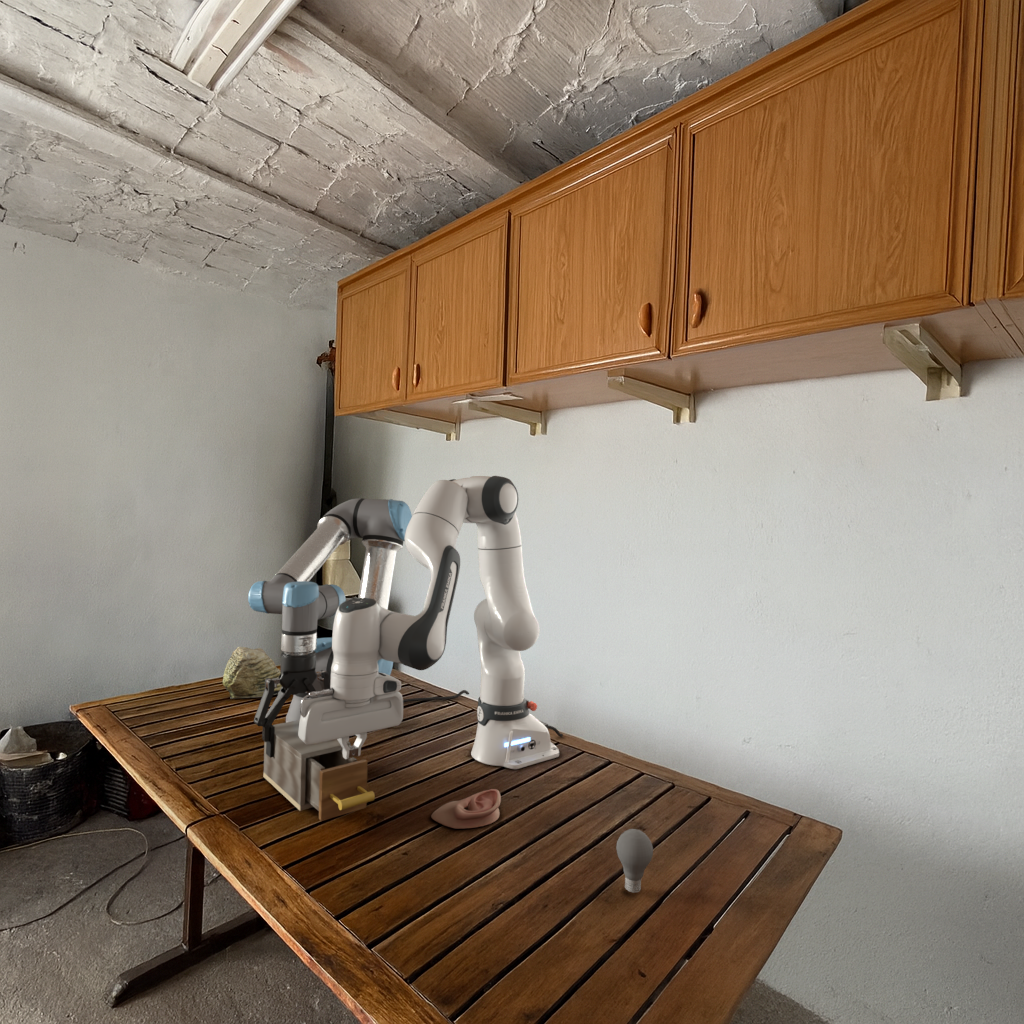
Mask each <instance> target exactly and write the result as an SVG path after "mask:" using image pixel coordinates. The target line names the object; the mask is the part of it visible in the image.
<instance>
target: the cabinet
mask: <svg viewBox="0 0 1024 1024" xmlns="http://www.w3.org/2000/svg"><path fill="white" fill-rule="evenodd" d="M299 723H300V720H296V721H291V722H286V721H285V722H282V723H276V724H272V725H273V726H274V727H275V734H274V757H271V758H270V757H269V756H268V755H267V754H266V742H265V741H263V742H264V743H263V749H264V750H263V772H262V773H263V775H262V776H263V778H264V779H265V780H266V781H267V782H268V783H269V784H270V785H272V787H273V788H275V789H276V791H278V792H279V793H280V794H281V795H283V797H284V798H286V800H288V801H289V802H290V803H291V805H293V806H294V807H295V808H296V809H297V810H298V811H299V812H302V811H305V810H308V809H311V808H314V807H313V806H312V805H311V804H310V803H309V802H308V801H307V800H305V786H306V758H310V757H314V756H318V755H322V754H327V753H331V752H335V751H339V750H343V748H342V747H341V745H340V743H339V742H338V740H337V739H335V740H330V741H326V742H321V743H317V744H312V745H307V744H305V743H304V742H303V741H302V740H301V739H300V738H299V736H298V731H299ZM346 743H347V745H348V746H352V743H351V742H350V741H349V742H346Z"/></svg>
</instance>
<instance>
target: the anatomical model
mask: <svg viewBox="0 0 1024 1024" xmlns="http://www.w3.org/2000/svg"><path fill="white" fill-rule="evenodd" d="M501 802H502V796H501V792H500V791H499V790H498V789H496V788H491V789H486V790H483V791H480V792H477V793H474V794H472V795H469V796H468V797H465V798H463V799H460V800H452V801H449V802H447V803H445V804H443V805H441V806H439V807H438V808H437V809H435V810H434V811H433V812H432V814H431V815H430V817H431V819H432V820H433V821H435V822H436V823H439V824H440V825H442V826H445V827H448V828H450V829H458V830H459V829H464V830H465V829H474V828H479V827H480V828H481V827H484V826H488V825H491V824H492V823H495V822H496V821H497V820H498V819H499V818H500V814H501V813H500V809H499V807H500V805H501Z"/></svg>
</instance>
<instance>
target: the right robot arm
mask: <svg viewBox="0 0 1024 1024" xmlns="http://www.w3.org/2000/svg"><path fill="white" fill-rule="evenodd" d="M518 505H519V492H518V490H517V487H516V485H515V484H514V483H513V481H512V480H511V479H510V478H508V477H505V476H502V475H501V476H500V475H491V476H488V475H487V476H486V475H473V476H469V477H463V478H458V479H455V478H453V479H440V480H436V481H434V482H432V484H430V486H429V487H428V489H426V491H425V493H424V494H423V495H422V497H421V499H420V500H419V502H418V504H417V505H416V507H415V509H414V511H413V513H412V517H411V520H410V522H409V524H408V526H407V529H406V532H405V538H404V539H405V541H404V544H405V547H406V549H407V551H408V553H409V554H410V555H411V557H412V558H413V559H414V560H415V561H416V562H418V563H419V564H420V565H422V566H423V567H425V568H426V569H428V570H429V572H430V581H429V585H428V589H427V593H426V597H425V599H424V603H423V608H422V610H421V611H420V613H418V614H416V615H412V614H407V613H401V612H398V611H392V610H390V609H388V610H387V609H385V608H383V607H381V606H379V605H378V604H377V601H375V600H374V599H370V598H358V597H357V598H351V599H350V598H349V599H346V601H345V602H343V603H342V604H340V605H339V607H338V609H337V611H336V614H335V615H334V619H333V625H332V636H331V637H332V650H333V654H334V659H333V664H332V667H331V684H330V689H325V690H321V691H317V692H316V691H313V692H310V693H308V695H306V696H305V697H304V698H303V699H302V700H301V703H300V713H301V717H300V723H299V731H298V736H299V738H300V739H301V740H302V741H303V742H304V743H305V744H307V745H312V744H317V743H321V742H326V741H330V740H335V739H337V740H338V742H339V743H340V745H341V747H342V748H343V754H342V755H343V758H345V759H349V758H353V757H354V758H356V757H360V756H361V753H362V747H363V745H364V743H365V742H366V740H367V738H368V733H371V732H375V731H380V730H384V729H389V728H392V727H398V726H400V725H401V723H402V722H403V719H404V703H403V700H404V698H403V695H402V693H401V692H400V691H401V689H402V681H401V680H399V679H398V678H397V677H395V676H392V675H391V674H390V675H388V674H385V673H380V672H378V669H379V667H378V660H380V659H384V660H387V661H391V662H393V663H395V664H396V663H397V664H401V665H403V666H406V667H408V668H411V669H414V670H417V671H425V670H429V668H431V667H432V666H434V665H436V664H437V663H438V661H440V660H441V658H442V656H443V655H444V653H445V650H446V645H447V635H448V625H449V620H450V615H451V611H452V608H453V603H454V599H455V593H456V589H457V585H458V581H459V575H460V570H461V555H460V553H459V551H458V550H457V549H456V547H457V546H456V545H457V540H458V538H459V535H460V533H461V531H462V527H463V524H475V525H476V528H477V532H476V533H477V534H476V535H477V537H476V538H477V540H476V541H477V543H476V544H477V559H478V570H479V572H478V573H479V580H480V583H481V584H482V588H483V591H484V595H485V598H484V599H483V600H481V601H480V602H479V603H478V604H477V605H476V607H475V610H474V612H473V621H474V624H475V627H476V634H477V644H478V652H479V660H480V684H479V685H480V687H479V697H478V699H477V700H478V701H477V710H476V717H477V725H476V727H477V728H476V734H475V737H474V742H473V745H472V749H471V752H470V754H471V757H472V758H473V759H474V760H475V761H477V762H479V763H481V764H485V765H488V766H489V765H490V766H494V767H495V766H496V767H504V768H507V769H511V770H519V769H522V768H526V767H529V766H532V765H535V764H539V763H542V762H545V761H549V760H553V759H555V758H559V757H560V749H559V748H558V747H557V746H556V745H555V744H554V743H553V742H552V741H551V735H550V730H552V731H553V732H555V734H556V735H557V736H558V737H559V738H562V737H564V734H563V733H561V732H560V731H559V729H558V728H556V727H554V726H552V725H549V724H548V723H547V722H544V721H541V720H539V719H538V718H537V717H535V716H534V715H533V714H531V713H530V711H532V712H535V711H537V709H538V704H537V703H536V702H534V701H533V700H531V701H530V700H528V699H527V698H525V679H526V677H525V676H526V675H525V674H526V673H525V671H526V669H525V665H524V662H523V660H522V655H521V652H523V651H527V650H529V649H530V648H532V647H533V646H534V645H535V644H536V643H537V641H538V639H539V637H540V631H541V630H540V629H541V628H540V624H539V620H538V619H537V617H536V615H535V613H534V609H533V605H532V602H531V597H530V594H529V591H528V587H527V583H526V578H525V569H524V559H523V544H522V543H523V542H522V533H521V529H520V523H519V518H518V515H517V509H518ZM307 697H309V698H307ZM352 736H356V739H355V740H354V743H353V744H351V746H348V745H347V743H346V742H350V737H352Z"/></svg>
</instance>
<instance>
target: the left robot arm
mask: <svg viewBox="0 0 1024 1024" xmlns="http://www.w3.org/2000/svg"><path fill="white" fill-rule="evenodd" d="M412 515H413V513H412V510H411V508H410V506H409V504H408V503H407V502H405V501H404V500H396V499H392V498H390V499H386V498H385V499H383V498H381V499H378V498H361V497H360V498H359V497H358V498H357V497H356V498H351V499H348V500H346V501H344V502H341V503H340V504H338V505H336V506H334V507H333V508H332V509H330V510H329V511H327V512H326V513H325V514H324V515H323V516H322V517H321V518H320V519H319V521H318V522H317V525H316V526H317V527H316V529H315V530H314V531H313V532H312V534H311V535H310V536H308V538H307V539H306V540H305V541H304V542H303V543H302V544H301V546H300V547H299V548H298V549H297V550H296V551H295V552H294V553H293V555H292V556H291V557H290V558H289V559H288V560H287V561H286V562H285V563H284V565H282V567H281V568H280V569H279V570H278V571H277V572H276V573H275V574H274V575H273V577H272V578H270V580H269V581H267V580H260V581H259V580H258V581H256V582H254V583H253V584H252V585H251V587H250V589H249V591H248V595H247V600H248V604H249V607H250V608H251V610H253V611H255V612H259V613H263V614H273V615H282V619H281V620H282V623H281V626H282V627H281V640H280V641H281V643H280V650H281V651H282V653H281V654H280V666H279V667H280V669H279V670H280V672H281V673H280V675H279V677H278V678H273V679H270V678H266V680H265V690H264V693H263V696H262V697H260V698H261V699H260V701H259V704H258V707H257V710H256V713H255V715H254V719H253V723H254V724H255V725H256V726H257V727H262V729H261V730H262V733H261V734H262V735H261V739H262V741H263V742H264V741H265V742H266V754H267V755H268V756H269V757H270V758H271V757H274V734H275V727H274V726H273V725H274V722H275V720H276V719H277V717H278V715H279V713H280V712H281V710H282V708H283V706H285V703H286V701H287V700H289V698H290V697H291V695H292V696H293V697H292V699H291V702H290V704H289V708H288V711H287V713H286V715H285V723H286V722H291V721H296V720H300V717H301V713H300V703H301V700H302V699H303V698H304V697H305V696H306V695H308V693H310V692H313V691H316V692H317V691H321V690H325V689H330V684H331V667H332V664H333V659H334V654H333V650H332V636H331V637H318V621H319V620H322V619H326V618H331V617H333V616H335V615H336V611H337V609H338V607H339V605H340V604H342V603H343V602H345V601H347V599H346V594H345V592H344V589H342V588H341V587H340V586H339V585H337V584H334V583H333V584H331V583H330V584H327V583H326V584H323V585H319V584H318V583H317V582H314V581H311V579H312V578H313V577H314V576H315V575H316V574H317V572H318V571H320V569H321V568H322V566H323V565H325V563H326V561H327V560H328V559H330V557H331V556H332V554H333V553H334V552H335V551H336V550H337V548H338V547H339V546H342V545H344V544H346V543H347V542H348V541H349V540H350V539H355V538H358V539H362V540H361V544H362V545H363V546H364V547H365V556H364V559H363V567H362V573H361V577H360V585H359V591H358V597H357V598H370V599H374V600H375V601H377V604H378V605H379V606H381V607H383V608H385V609H387V610H389V604H390V596H391V592H392V591H391V590H392V584H393V578H394V571H395V565H396V557H397V553H398V552H400V551H401V550H402V549H403V547H404V542H405V539H404V538H405V532H406V529H407V526H408V524H409V522H410V520H411V517H412ZM393 666H394V662H391V661H387V660H384V659H380V660H378V667H379V669H378V672H380V673H385V674H388V675H390V676H391V675H392V670H393V668H394V667H393ZM279 683H280V684H281V686H282V687H281V689H280V691H279V692H278V694H277V696H276V698H275V699H274V701H273V703H272V700H273V697H274V695H273V694H274V689H275V688H277V685H278V684H279ZM463 694H465V695H467V696H468V695H470V692H469V691H468V690H466V689H464V690H461V691H460V692H458V693H457V694H454V695H450V696H431V697H429V696H428V697H413V698H405V699H404V698H403V704H405V703H411V702H427V701H447V700H448V701H449V700H454V699H458V698H459V697H461V696H462V695H463ZM307 698H309V697H307ZM271 703H272V705H271ZM270 705H271V706H270Z"/></svg>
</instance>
